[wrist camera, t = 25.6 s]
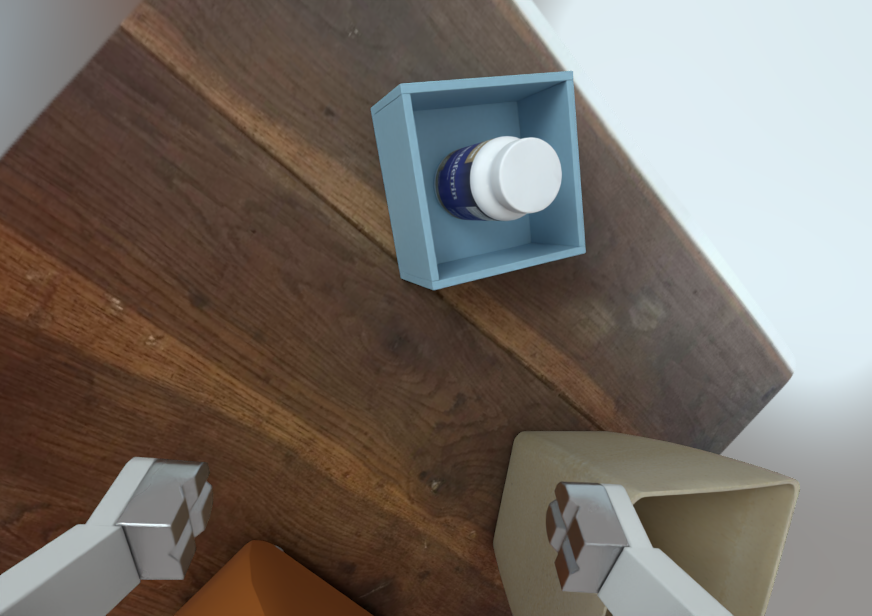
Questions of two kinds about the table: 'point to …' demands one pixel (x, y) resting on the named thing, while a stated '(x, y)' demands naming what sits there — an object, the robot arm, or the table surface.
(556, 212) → the open box
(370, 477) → the table surface
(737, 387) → the table surface
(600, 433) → the flower pot
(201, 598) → the alarm clock
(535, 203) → the pill bottle
